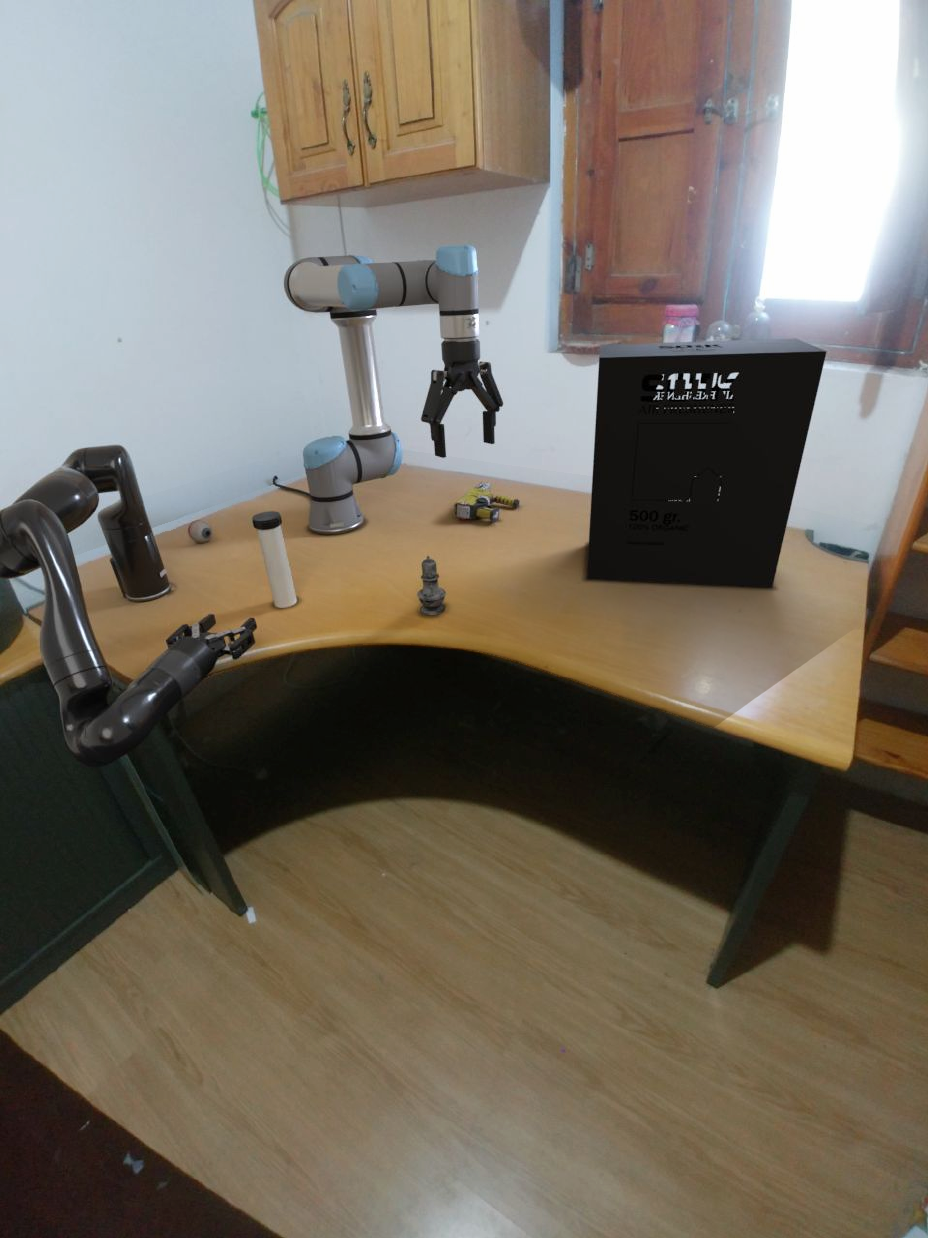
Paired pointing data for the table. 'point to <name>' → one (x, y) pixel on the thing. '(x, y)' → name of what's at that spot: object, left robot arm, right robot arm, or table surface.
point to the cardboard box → (698, 459)
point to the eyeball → (200, 531)
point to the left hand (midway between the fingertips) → (233, 619)
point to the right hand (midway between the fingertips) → (465, 449)
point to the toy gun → (481, 504)
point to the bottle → (277, 566)
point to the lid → (267, 520)
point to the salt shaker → (431, 589)
